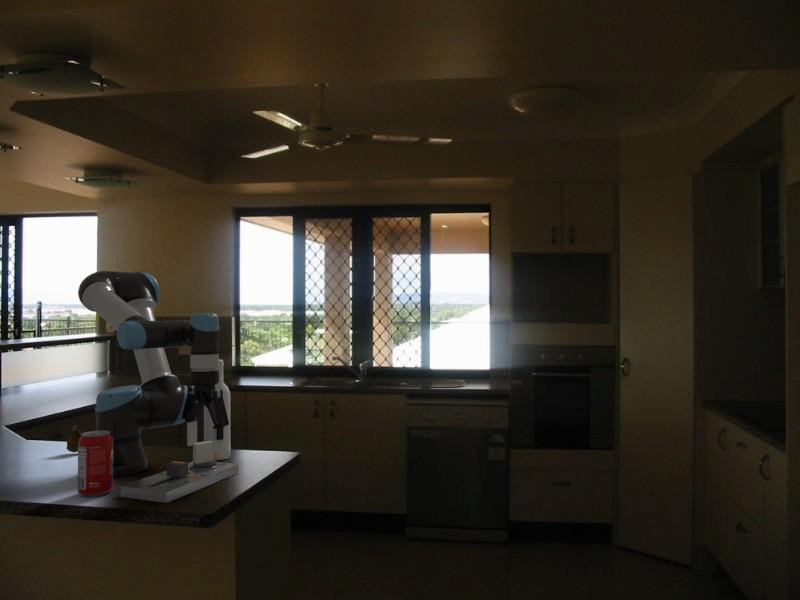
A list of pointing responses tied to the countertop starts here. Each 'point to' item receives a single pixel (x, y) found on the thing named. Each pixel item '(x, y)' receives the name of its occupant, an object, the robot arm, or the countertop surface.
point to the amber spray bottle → (73, 439)
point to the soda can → (95, 463)
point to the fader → (176, 469)
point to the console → (177, 483)
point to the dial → (204, 455)
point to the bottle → (209, 423)
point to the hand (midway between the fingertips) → (204, 448)
